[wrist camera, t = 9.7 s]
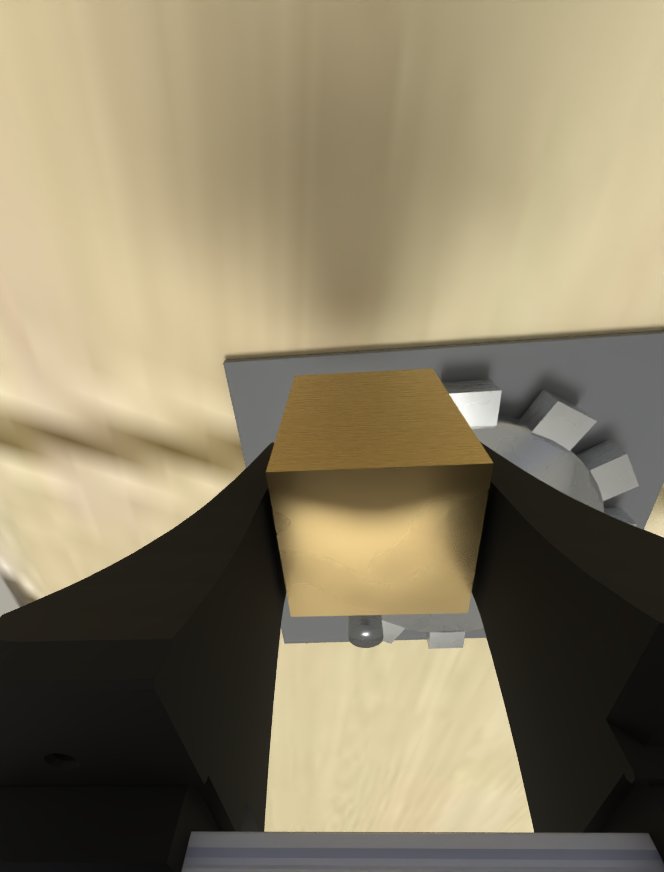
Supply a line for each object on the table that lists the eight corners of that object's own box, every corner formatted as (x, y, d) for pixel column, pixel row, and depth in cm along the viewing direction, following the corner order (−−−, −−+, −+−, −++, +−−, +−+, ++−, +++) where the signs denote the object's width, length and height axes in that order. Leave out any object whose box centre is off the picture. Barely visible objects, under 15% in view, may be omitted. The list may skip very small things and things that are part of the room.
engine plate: (720, 326, 17) (729, 329, 16) (595, 628, 27) (599, 634, 27) (225, 360, 18) (223, 362, 17) (285, 638, 28) (284, 643, 28)
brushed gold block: (432, 368, 11) (493, 463, 7) (424, 481, 13) (467, 612, 9) (294, 375, 11) (265, 471, 7) (307, 486, 13) (290, 617, 9)
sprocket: (556, 299, 16) (625, 323, 12) (656, 562, 23) (719, 629, 19) (226, 494, 21) (201, 554, 17) (392, 659, 28) (400, 727, 24)
